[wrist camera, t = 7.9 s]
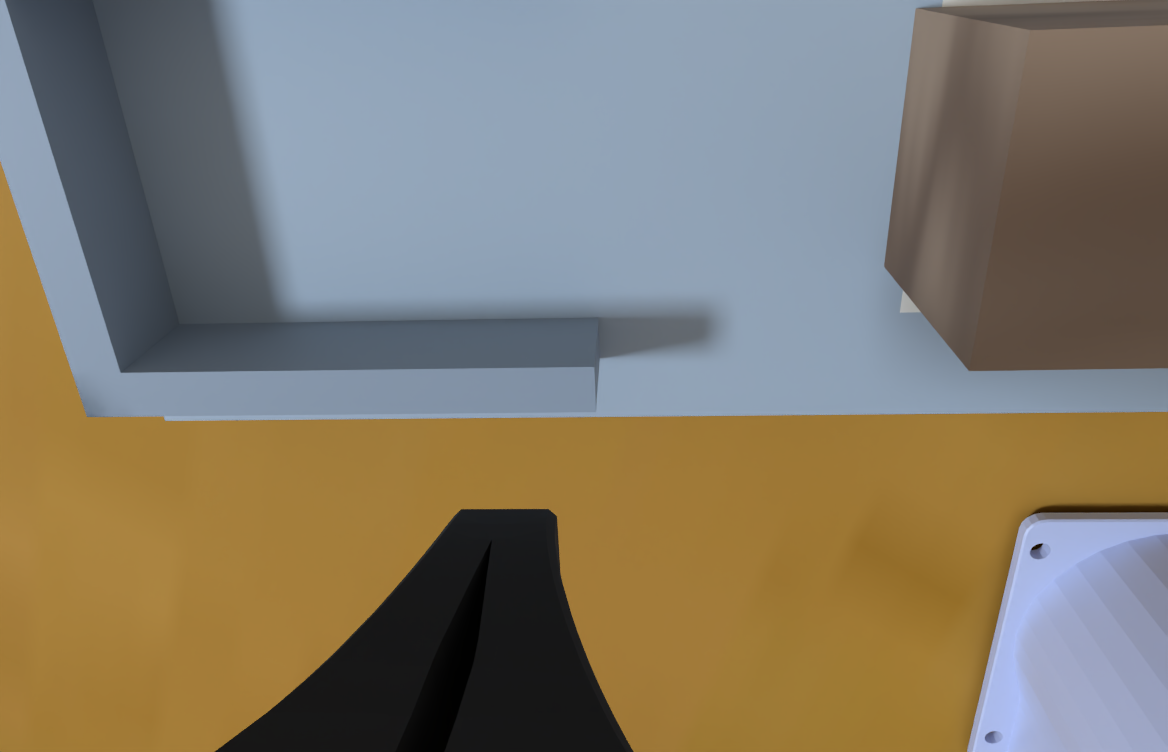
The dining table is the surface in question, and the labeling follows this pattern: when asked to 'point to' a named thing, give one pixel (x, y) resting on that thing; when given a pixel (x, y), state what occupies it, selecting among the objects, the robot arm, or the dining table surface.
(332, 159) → the deck
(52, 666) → the dining table surface
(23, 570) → the dining table surface
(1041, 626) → the robot arm
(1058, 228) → the walnut block
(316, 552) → the dining table surface
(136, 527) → the dining table surface
